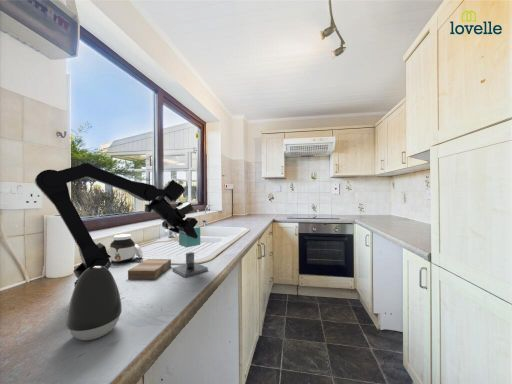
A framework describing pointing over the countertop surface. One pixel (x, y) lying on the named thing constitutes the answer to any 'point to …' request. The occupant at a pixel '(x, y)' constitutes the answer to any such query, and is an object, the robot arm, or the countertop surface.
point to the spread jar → (124, 249)
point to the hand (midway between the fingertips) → (192, 236)
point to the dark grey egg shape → (94, 304)
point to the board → (149, 269)
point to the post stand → (189, 267)
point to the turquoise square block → (189, 239)
